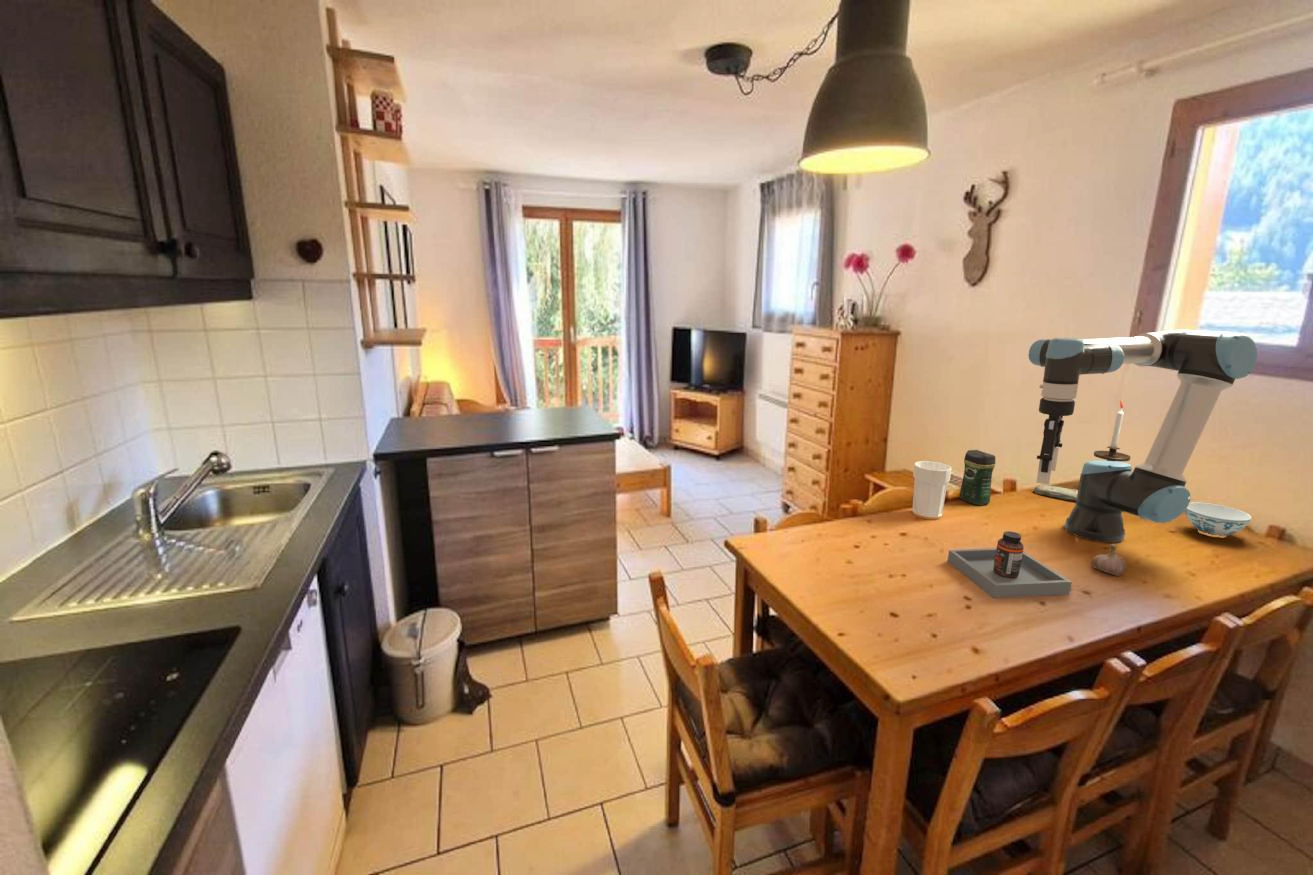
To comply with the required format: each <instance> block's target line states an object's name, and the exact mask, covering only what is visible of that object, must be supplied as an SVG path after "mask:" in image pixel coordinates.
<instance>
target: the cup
mask: <svg viewBox="0 0 1313 875" xmlns="http://www.w3.org/2000/svg"><path fill="white" fill-rule="evenodd" d="M951 475H952V467H951V465H949V464H946V463H943V462H940V461H931V460H922V461H921V460H920V461H916V462H915V463H914V464H913V475H912V476H913V478H914V482H913V483H914V486H913V498H912V511H911V513H912V514H913V516H915V517H917V518H920V519H923V520H933V521H934V520H940V519H941V518H942V516H943V512H944V505H945V501H946V500H945V499H946V492H947V488H948V483H949V482H950V480H951Z"/></svg>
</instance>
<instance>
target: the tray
mask: <svg viewBox="0 0 1313 875" xmlns="http://www.w3.org/2000/svg"><path fill="white" fill-rule="evenodd" d="M996 549H997V547H992V548H990V547H989V548H970V549H969V548H966V549H948V555H947V563H948V564H950V565H951V566H953V568H955V569H957V571H959V572H960V573H961V574H962V575H964V576H965V577H967V578H968V579H969V580H970V581H972V582H973V583H974V584H975V585H976V586H977V587H979V588H980V589H981V590H983V591H984V592H985V593H987V594H988V595H989V596H990V597H992V598H993V599H1002V598H1003V599H1004V598H1005V599H1006V598H1019V597H1020V598H1021V597H1023V598H1024V597H1044V596H1047V597H1048V596H1049V597H1050V596H1066V595H1068V596H1069V595H1070V593H1071V588H1072V581H1071V580H1070V579H1068V578H1066V577H1065V576H1064V575H1062V574H1060V573H1059V572H1057V571H1055V570H1054V569H1052V568H1050V567H1049V566H1047V565H1046V564H1045V563H1043V562H1040V561H1039V560H1037V559H1036V558H1034V557H1033V556H1031V555H1029V554H1028V553H1027V552H1025V551H1023V555H1022V561H1021V566H1020V572H1019V575H1018V576H1017V577H1015V578H1008V577H1004V576H1000V575H998V574H997V573H995V572H994V570H993V568H994V561H995V555H996Z"/></svg>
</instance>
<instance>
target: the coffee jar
mask: <svg viewBox="0 0 1313 875" xmlns="http://www.w3.org/2000/svg"><path fill="white" fill-rule="evenodd" d="M963 461H964V463H963V464H964V471H963V476H962V480H961V481H962V482H961V486H960V490H959V498H960V500H962V501H965V502H967V503H968V504H969V503H970V504H973V505H978V506H979V505H980V506H985V505H988V504H990V502H991V491H992V479H993V478H992V477H993V471H994V469H995V466H996V456H995V454H991V453H987V452H985V451H981V450H978V449H969V450H967V451H966V453H965V456H964V460H963Z"/></svg>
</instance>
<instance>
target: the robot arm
mask: <svg viewBox="0 0 1313 875" xmlns="http://www.w3.org/2000/svg"><path fill="white" fill-rule="evenodd" d="M1027 356H1028V359H1029V362H1031V363H1032V364H1033V365H1034V366H1040V367H1042V368H1043V367H1044V370H1043V379H1042V384H1040V385H1039V388H1040V389H1041V394H1040V396H1041V398H1040V399H1039V405H1038V412H1039V413H1040V414H1043V415H1048V418H1045V420H1044V423H1043V427H1044V428H1043V432H1042V433H1043V438H1042V444H1041V449H1040V453H1039V455H1036V460H1039V463H1038V470H1037V476H1036V483H1037V484H1040V485H1050V480H1051V474H1052V472H1056V468H1057V462H1058V455H1059V448H1062V447H1063V443H1061V436H1062V435H1061V434H1062V431H1063V427H1064V423H1065V420H1063V418H1064V417H1069V416H1072V415H1073V414H1074V411H1075V406H1076V401H1075V399H1076V398H1077V395H1078V386H1079V380H1080V376H1081V375H1096V374H1102V375H1104V374H1108V373H1113V372H1115V371H1118V370H1119V369H1120V368H1121V367H1122V366H1123V365H1127V364H1134V365H1136V366H1139V367H1154V368H1160V369H1165V370H1170V371H1177V374H1176V377H1178V379H1179V381H1180V383H1179V386H1178V387H1177V388H1178V389H1177V390H1176V393H1175V395H1174V397H1173V399H1172V402H1171V404H1170V406H1169V408H1168V411H1167V413H1166V415H1165V417H1164V419H1163V421H1162V424H1161V425H1160V428H1159V431H1158V432H1157V434H1156V436H1155V439H1154V441H1153V444H1152V445H1151V448H1150V450H1149V452H1148V454H1147V456H1146V458H1145V460H1144V462H1143V463H1140V464H1137V465H1135V466H1134V469H1133V466H1132V464H1129V463H1127V462H1124V461H1107V460H1089V461H1087V462H1085V463H1083V466H1082V470H1081V473H1080V478H1079V483H1078V489H1077V490H1078V494H1077V500H1076V502H1075V505H1074V507H1073V508H1072V510H1071V512H1070V514H1069V516H1068V517H1066V519H1065V520H1064V521H1065V522H1064V530H1066V531H1067V532H1069V533H1070V534H1072V535H1074V536H1077V537H1079V538H1082V539H1087V540H1091V541H1095V542H1100V543H1101V542H1102V543H1120V542H1122V541H1124V540H1125V536H1126V529H1125V526H1124V525H1125V524H1124V519H1123V512H1126V513H1127V514H1131V515H1133V516H1136V517H1138V518H1139V519H1141V520H1145V521H1150V522H1152V523H1157V524H1167V523H1171V522H1172V521H1174V520H1176V519H1178V518H1179V517H1180V516H1182V515H1183V513H1185V510H1186V509H1187V507H1188V505H1189V503H1191V497H1190V496H1191V492H1190V491H1189V489H1187V488H1186V487H1185V486H1186V484H1187V481H1188V480H1187V478H1186V477H1185V476H1184V471H1185V470H1186V468H1187V465H1188V462H1189V461H1190V459H1191V457H1192V454H1193V453H1194V450H1195V448H1196V447H1197V444H1198V442H1199V439H1200V438H1201V435H1202V433H1203V431H1204V429H1205V427H1206V425H1207V423H1208V420H1209V418H1210V416H1211V414H1212V412H1213V410H1214V408H1215V405H1216V404H1217V401H1218V399H1219V397H1220V395H1221V394H1222V391H1224V390H1227V389H1229V388H1231V387H1233V385H1234V383H1235V380H1239V379H1243V378H1245V377H1248V375H1249V374H1251V373H1252V372H1253V371H1254V369H1255V367H1256V364H1257V360H1258V349H1257V345H1256V343H1255V341H1254V339H1252V338H1251V337H1250V336H1249V335H1247V334H1244V333H1239V332H1231V331H1227V330H1226V331H1216V330H1215V331H1214V330H1213V331H1212V330H1195V329H1194V330H1193V329H1175V330H1166V331H1156V332H1145V333H1143V332H1142V333H1139V334H1137V335H1136V336H1134V337H1133V336H1131V337H1128V336H1127V337H1108V338H1107V337H1106V338H1105V337H1103V338H1078V337H1077V338H1076V337H1057V338H1056V337H1055V338H1052V339H1050V338H1049V339H1038V340H1035V341H1034V342H1033V343H1032V344H1031V346H1030V347H1029V349H1028V355H1027Z"/></svg>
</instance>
